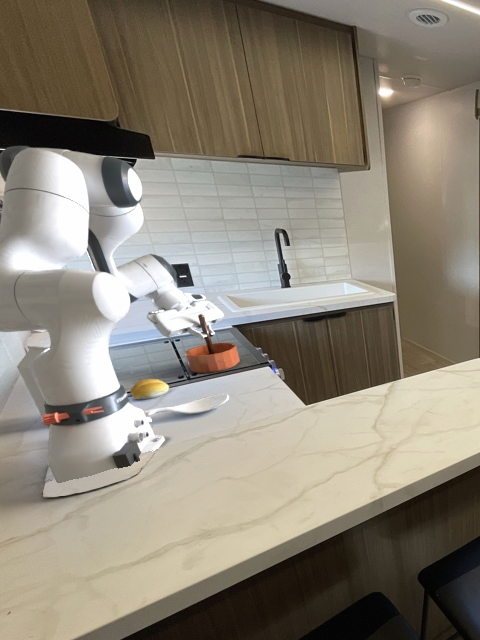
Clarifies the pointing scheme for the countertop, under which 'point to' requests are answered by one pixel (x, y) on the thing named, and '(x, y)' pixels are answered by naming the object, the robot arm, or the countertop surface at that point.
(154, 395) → the bread roll
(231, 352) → the bowl
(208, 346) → the wooden masher
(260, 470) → the countertop surface
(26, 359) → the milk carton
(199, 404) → the spoon
